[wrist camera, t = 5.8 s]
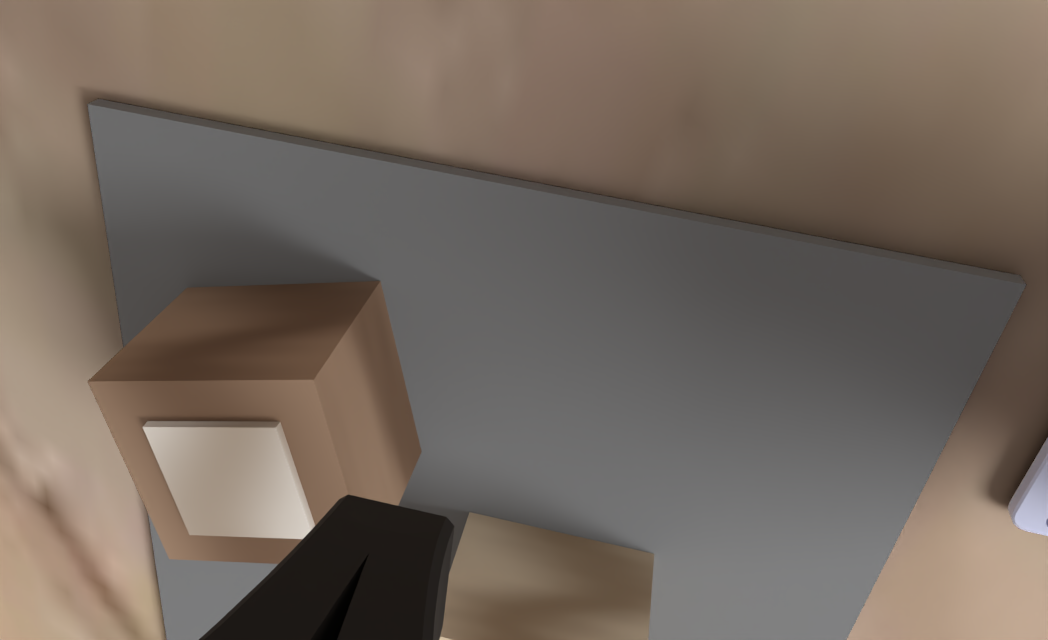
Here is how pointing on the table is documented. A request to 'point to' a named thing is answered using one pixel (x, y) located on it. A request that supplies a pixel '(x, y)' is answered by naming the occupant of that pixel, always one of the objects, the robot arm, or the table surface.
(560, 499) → the slate mat
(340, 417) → the walnut block
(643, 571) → the plain block
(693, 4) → the table surface
